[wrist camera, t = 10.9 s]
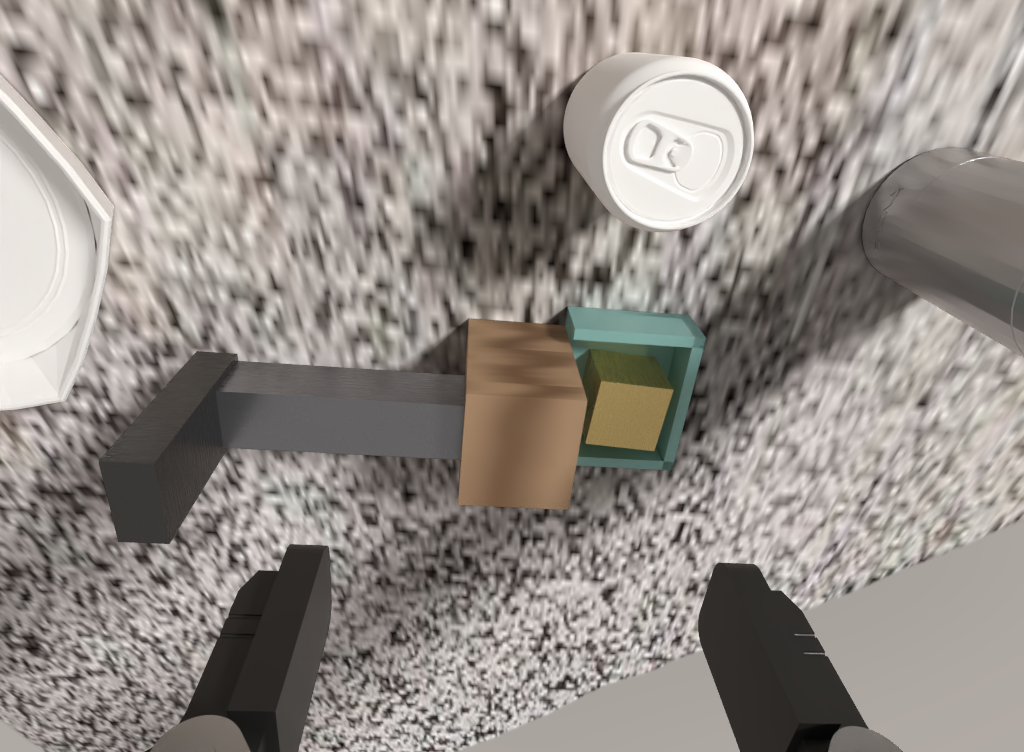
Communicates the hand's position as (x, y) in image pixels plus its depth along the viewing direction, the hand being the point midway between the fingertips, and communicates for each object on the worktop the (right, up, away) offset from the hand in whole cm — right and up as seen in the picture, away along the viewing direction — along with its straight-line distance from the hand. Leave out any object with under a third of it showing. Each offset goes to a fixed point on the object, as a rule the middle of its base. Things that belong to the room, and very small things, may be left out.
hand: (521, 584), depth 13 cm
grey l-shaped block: (-10, +3, +30) cm, 31 cm away
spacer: (+5, +3, +32) cm, 33 cm away
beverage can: (+7, +20, +27) cm, 35 cm away
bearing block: (0, +5, +35) cm, 35 cm away
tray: (+8, +4, +36) cm, 37 cm away
